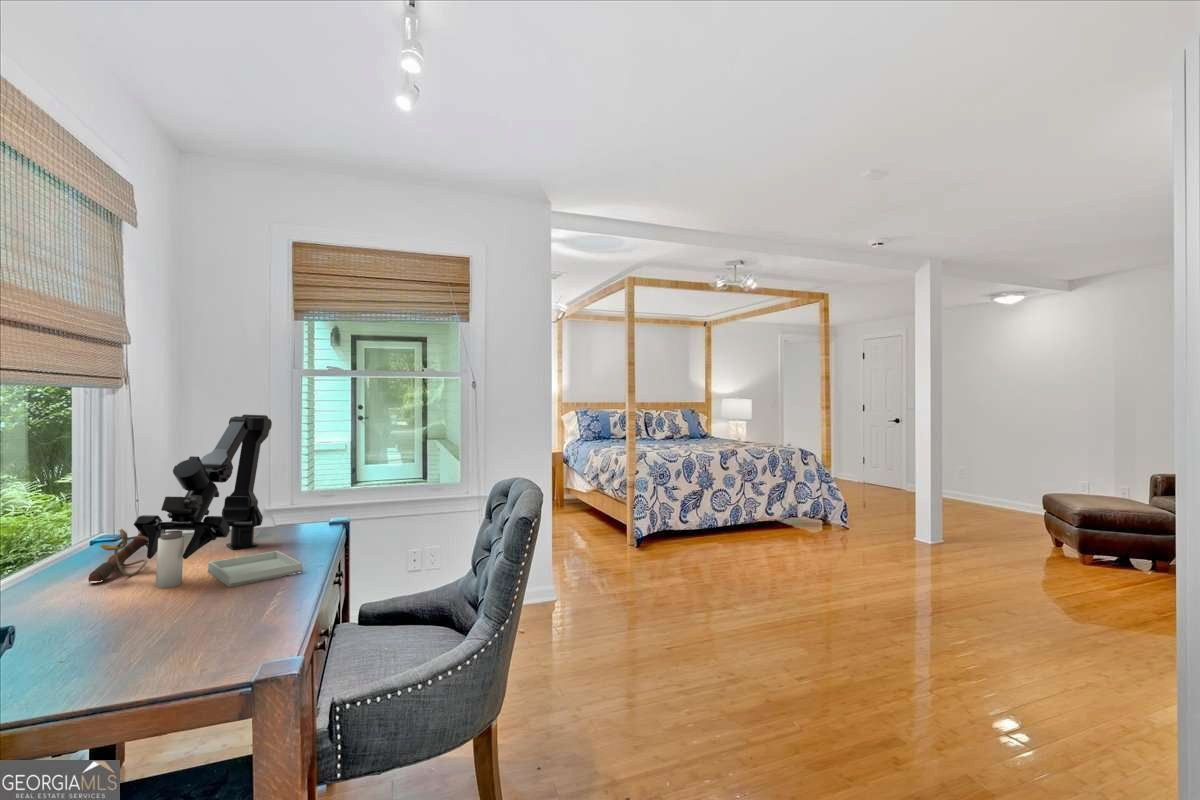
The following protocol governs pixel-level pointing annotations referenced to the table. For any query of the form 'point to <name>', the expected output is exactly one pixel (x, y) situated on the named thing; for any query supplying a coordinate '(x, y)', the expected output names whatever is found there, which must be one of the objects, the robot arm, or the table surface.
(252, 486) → the robot arm
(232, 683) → the table surface
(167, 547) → the jar with lid
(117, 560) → the slingshot
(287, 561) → the bin
